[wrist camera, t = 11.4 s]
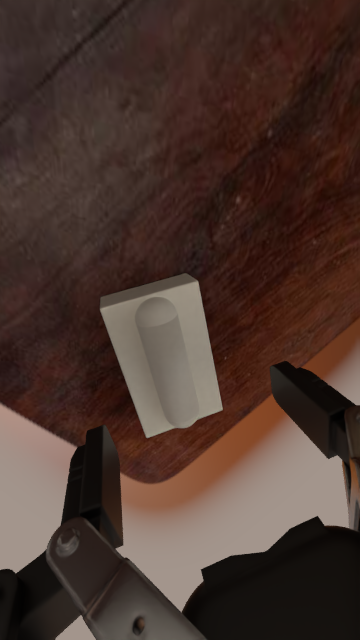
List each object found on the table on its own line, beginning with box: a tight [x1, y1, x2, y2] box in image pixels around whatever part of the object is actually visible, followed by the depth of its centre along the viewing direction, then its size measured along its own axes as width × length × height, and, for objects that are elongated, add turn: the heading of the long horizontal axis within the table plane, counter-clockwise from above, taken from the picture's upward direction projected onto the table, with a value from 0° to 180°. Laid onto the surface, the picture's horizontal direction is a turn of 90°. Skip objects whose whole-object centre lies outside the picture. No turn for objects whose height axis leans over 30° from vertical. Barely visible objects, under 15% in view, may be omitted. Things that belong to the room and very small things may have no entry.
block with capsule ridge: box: [100, 273, 223, 438], centre depth 17 cm, size 10×6×4 cm, turn 13°
